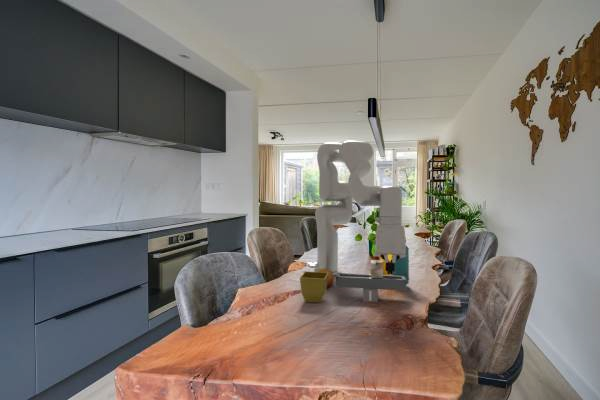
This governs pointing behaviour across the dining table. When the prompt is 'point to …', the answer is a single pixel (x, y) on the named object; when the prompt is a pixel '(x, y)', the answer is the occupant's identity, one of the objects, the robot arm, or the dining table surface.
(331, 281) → the fruit
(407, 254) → the beverage bottle
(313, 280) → the flower pot
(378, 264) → the rider
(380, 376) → the dining table surface
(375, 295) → the beam
